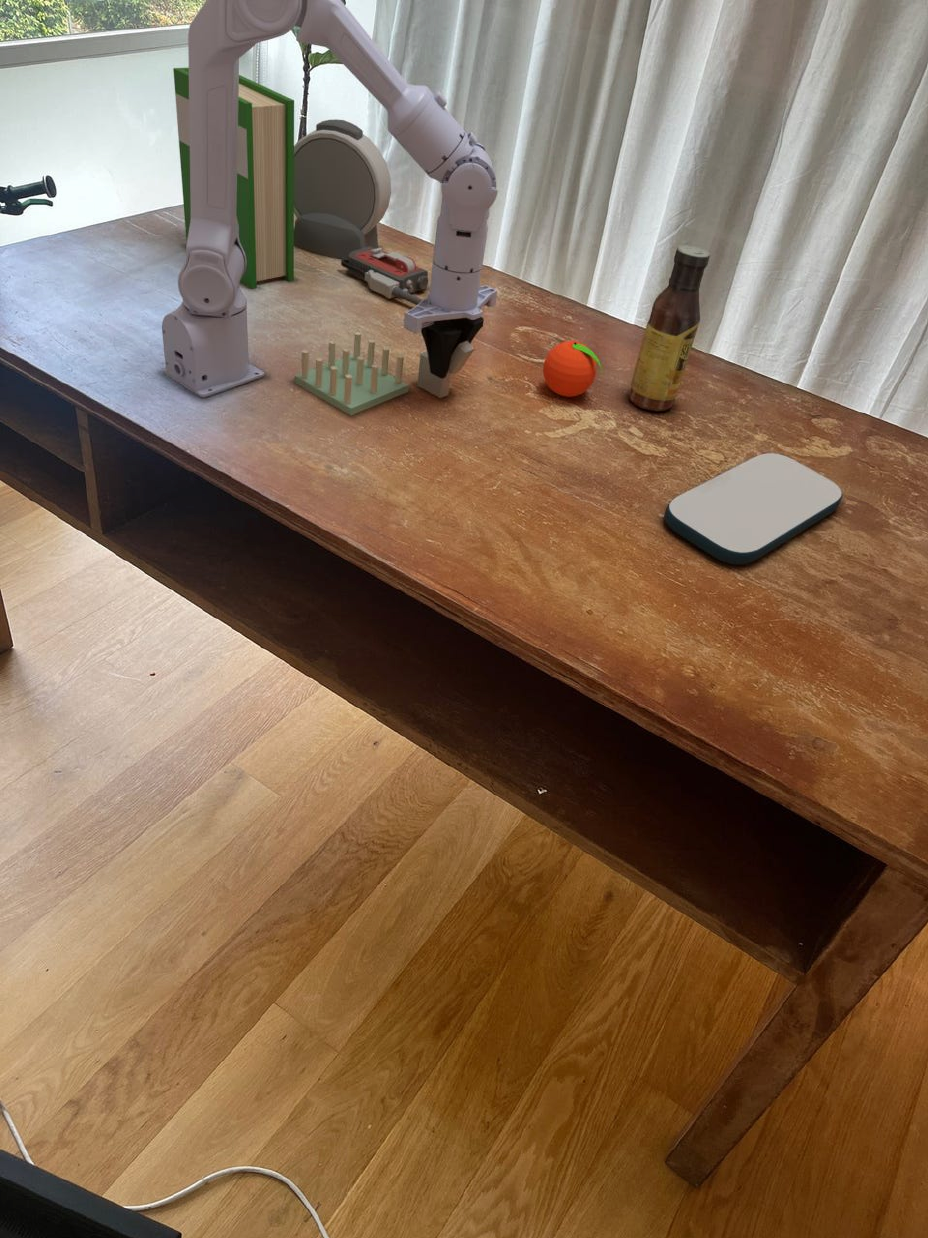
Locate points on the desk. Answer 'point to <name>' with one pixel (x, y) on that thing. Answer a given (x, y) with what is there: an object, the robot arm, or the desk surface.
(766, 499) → the external hard drive
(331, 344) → the dish rack
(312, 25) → the robot arm
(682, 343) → the sauce bottle
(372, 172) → the alarm clock
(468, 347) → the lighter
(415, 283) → the walkie-talkie
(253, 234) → the hardback book
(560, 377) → the clementine
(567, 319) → the desk surface
